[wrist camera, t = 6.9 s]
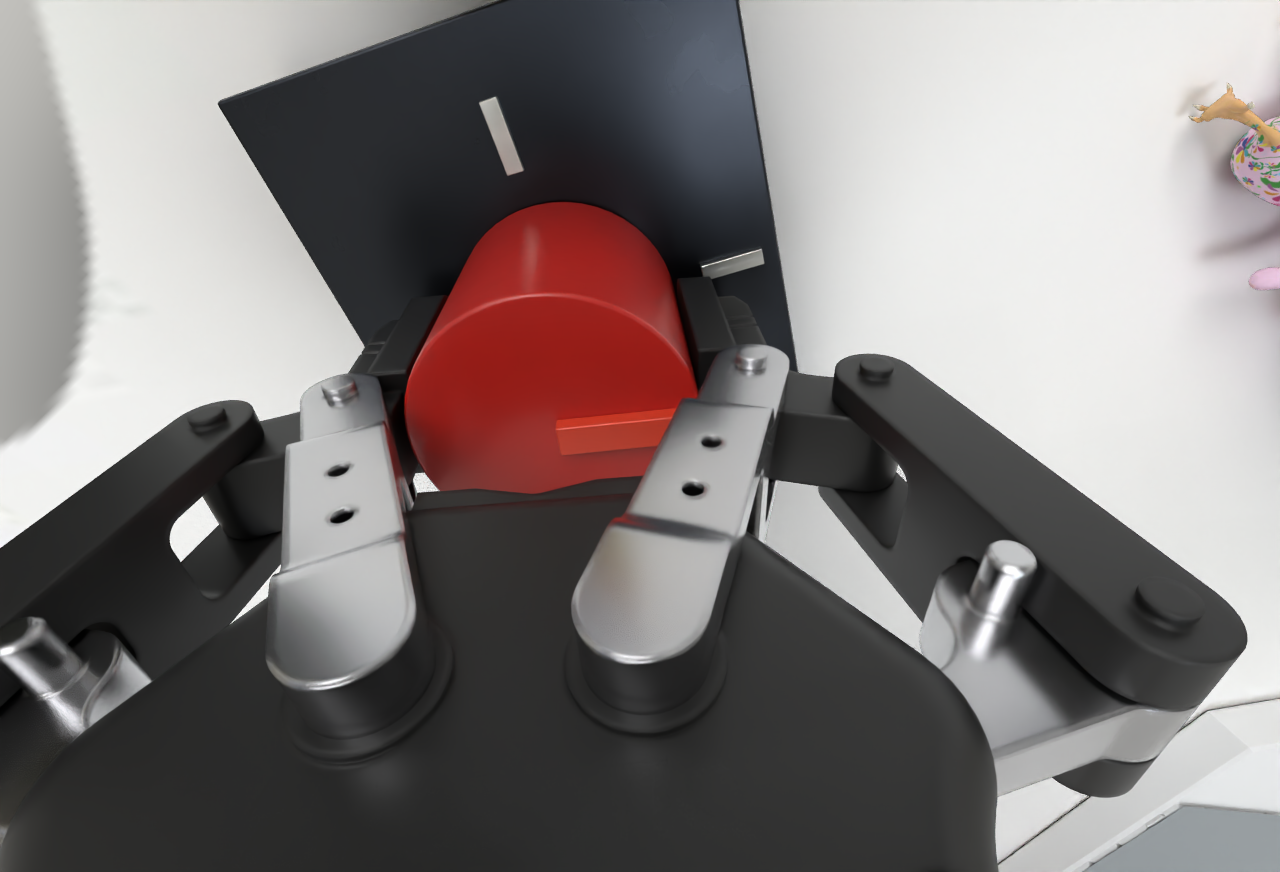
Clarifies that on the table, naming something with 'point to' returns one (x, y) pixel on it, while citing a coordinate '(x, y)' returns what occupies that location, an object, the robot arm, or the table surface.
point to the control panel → (524, 147)
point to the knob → (550, 357)
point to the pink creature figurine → (1252, 162)
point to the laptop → (1181, 807)
